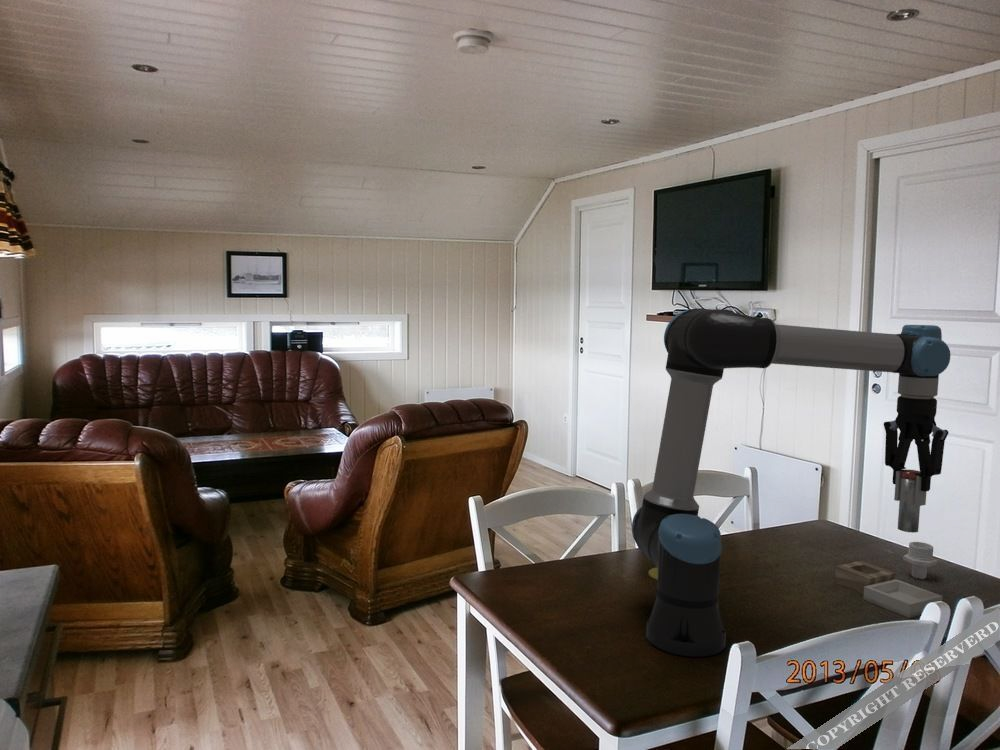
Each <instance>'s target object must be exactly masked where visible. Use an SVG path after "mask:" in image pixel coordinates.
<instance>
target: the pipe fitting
mask: <svg viewBox="0 0 1000 750" xmlns="http://www.w3.org/2000/svg"><path fill="white" fill-rule="evenodd" d="M907 552H908V553H907V554H904V555H903V557H902V558H903V560H904V561H905V562H908V563H910V564H911V577H912V576H913V578H914V577H915V578H914V579H918V578H919V579H918V580H926V579H927V576H928V575H927V574H928V567H933V566H935V565H937V563H938V559H936V558H934V557H933V556H934V546H933V545H931V544H930V543H926V542H922V541H911V542H909V543H908V551H907ZM925 578H926V579H925Z"/></svg>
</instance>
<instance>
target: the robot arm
mask: <svg viewBox="0 0 1000 750" xmlns="http://www.w3.org/2000/svg"><path fill="white" fill-rule="evenodd" d="M942 336H943V334H942V329H941V327H940V326H938V325H935V324H933V325H932V324H905V325H903V326H902V328H901V332H900V333H882V332H874V331H873V332H871V331H860V330H848V329H847V330H846V329H835V328H825V327H824V328H822V327H811V326H800V325H799V326H798V325H788V324H787V325H786V324H777V323H775V321H774V320H773V319H771V318H767V317H758V316H752V315H747V314H742V313H738V312H733V311H729V310H725V309H715V308H714V309H710V308H703V307H702V308H697V307H696V308H691V309H690V308H689V309H687V310H683V311H681V312H679V313H677V314H676V315H675V316H674V317H673V318H671V320H670V321H669V322H668V324H667V326H666V327H665V331H664V335H663V342H664V343H663V345H664V348H665V350H666V352H667V356H666V357H667V358H666V364H665V371H666V373H667V374H668V376H670V384H669V390H668V397H667V401H666V408H665V414H664V417H663V419H664V420H663V424H662V431H661V437H660V441H659V449H658V455H657V461H656V465H655V472H654V478H653V482H652V488H651V490H649V491H647V492H646V493H644V495H643V499H642V503H641V506H640V507H639V508H638V509H637V511H636V512H635V513H634V516H633V518H632V522H631V534H632V538H633V540H634V542H635V544H636V546H637V548H638V549H639V550H640V551H641V553H642V554H643V556H646V558H648V559H649V561H650V562H651V563H652V564H653V565H654V566H655V568H656V567H657V568H658V576H657V580H656V581H657V583H656V584H657V585H656V598H655V601H654V603H653V607H652V610H651V613H650V616H649V618H648V619H647V621H646V625H645V628H646V629H645V631H646V632H645V637H646V639H647V641H648V642H649V643H650V644H651V645H653V646H654V647H656V648H658V649H659V650H662V651H665V652H666V653H671V654H673V655H678V656H683V657H684V656H685V657H693V658H694V657H696V658H698V657H699V658H700V657H710V656H715V655H717V654H719V653H721V652H722V651H724V649H726V645H727V644H726V642H727V632H726V628H725V627H724V626H725V625H724V622H723V618H722V617H723V616H722V615H721V609H720V606H719V593H720V591H719V590H720V578H721V577H720V574H721V557H722V556H721V555H722V551H723V543H722V534H721V531H720V528H719V527H718V526H717V525H716V524H715V523H714V522H713V521H711V520H709V519H707V518H705V517H701V516H700V515H699V511H700V510H699V509H700V505H699V503H698V502H697V501H696V499H695V496H694V495H695V494H694V493H695V490H696V483H697V478H698V473H699V468H700V467H699V466H700V461H701V455H702V450H703V446H704V445H703V444H704V440H705V433H706V427H707V422H708V416H709V410H710V406H711V405H710V404H711V400H712V395H713V390H714V389H713V388H714V385H715V384H717V383H718V382H720V381H721V380H722V379H723V376H724V370H725V369H741V368H743V369H745V368H748V369H750V368H753V369H767V368H769V367H770V366H771V365H785V366H786V365H787V366H798V367H813V368H828V369H839V370H840V369H841V370H854V371H867V372H878V373H879V372H880V373H881V372H882V373H892V374H893V373H894V374H898V382H897V383H898V385H897V393H898V394H899V395H898V397H897V400H896V412H897V416H896V417H895V419H894V420H891V421H884V422H883V427H884V430H885V442H884V443H885V444H884V445H885V446H884V447H885V449H884V450H885V451H884V464H885V466H887V467H890V468H891V469H892V485H895V486H894V496H893V498H894V499H893V500H894V501H897V502H899V501H900V486H901V472H902V470H907V466H906V467H905V465H906V462H907V458H908V455H909V451H910V448H911V444H912V442H913V441H914V444H915V445H916V449H917V451H916V452H917V458H918V467H919V471H920V474H918V476H916V488H915V502H914V505H915V506H920V507H922V506H926V504H927V492H929V491H930V490H931V485H932V484H931V481H932V477H933V476H938V475H941V474H942V467H943V458H944V451H945V450H944V449H945V443H946V442H945V441H946V439H947V437H948V435H949V430H947V429H942V428H940V427H939V426H938V425H937V423H936V419H935V418H936V415H937V411H938V410H937V407H938V400H937V399H936V398H935V397H937V396H938V392H939V379H940V378H939V377H940V374H942V373H943V372H945V370H947V368H948V366H949V364H950V363H951V362H950V361H951V351H950V348H949V346H948V344H947V343H946V342H945V341H944V340H943V339H942V338H943V337H942ZM898 430H899V433H898ZM930 435H931V436H932V439H931V437H930ZM930 443H931V447H930Z"/></svg>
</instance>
